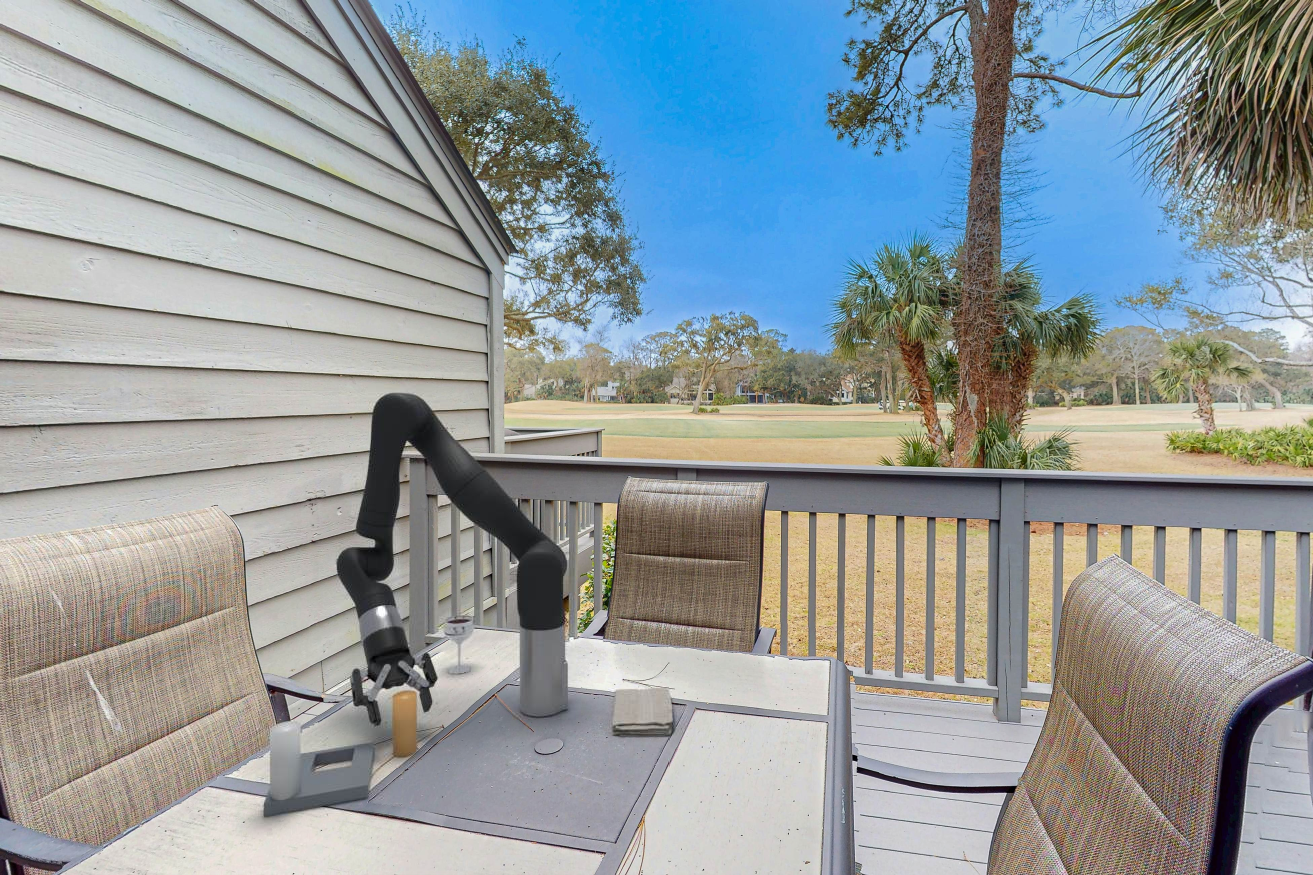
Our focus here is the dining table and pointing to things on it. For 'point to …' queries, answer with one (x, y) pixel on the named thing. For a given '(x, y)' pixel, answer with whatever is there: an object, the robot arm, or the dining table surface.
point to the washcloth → (642, 712)
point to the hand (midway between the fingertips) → (403, 716)
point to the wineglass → (459, 635)
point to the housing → (313, 773)
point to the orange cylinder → (404, 723)
